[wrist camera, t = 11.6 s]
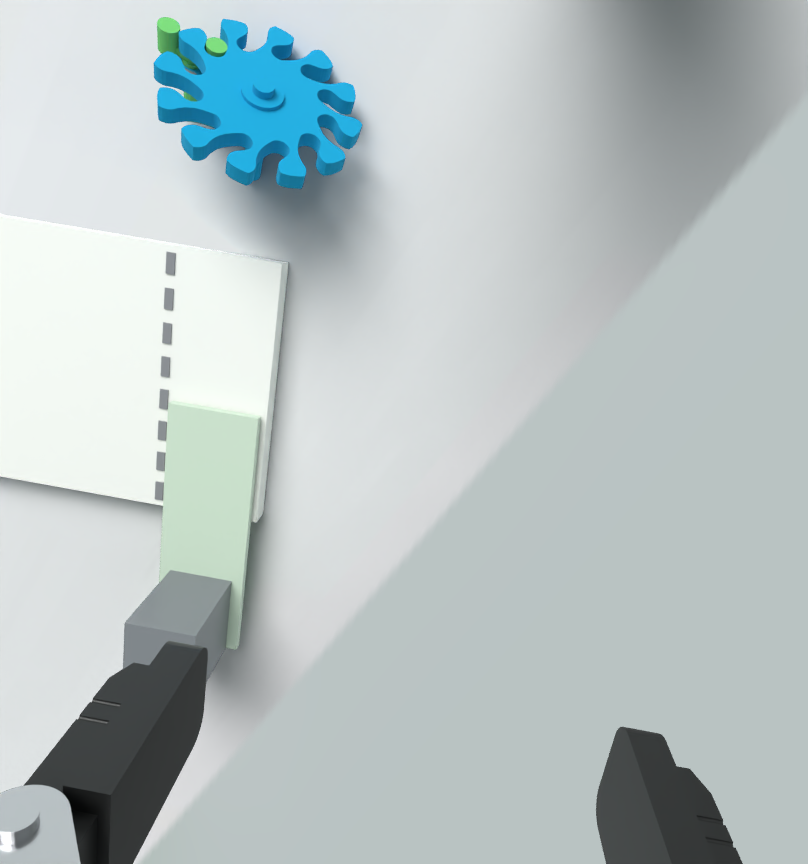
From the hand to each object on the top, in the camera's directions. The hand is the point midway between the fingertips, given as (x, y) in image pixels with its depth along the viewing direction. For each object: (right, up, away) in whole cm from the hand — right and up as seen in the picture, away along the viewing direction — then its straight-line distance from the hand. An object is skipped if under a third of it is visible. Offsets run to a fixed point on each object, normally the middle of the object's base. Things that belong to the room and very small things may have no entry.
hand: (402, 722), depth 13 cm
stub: (-12, -1, +29) cm, 31 cm away
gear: (-7, +23, +23) cm, 34 cm away
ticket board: (-20, +10, +28) cm, 36 cm away
